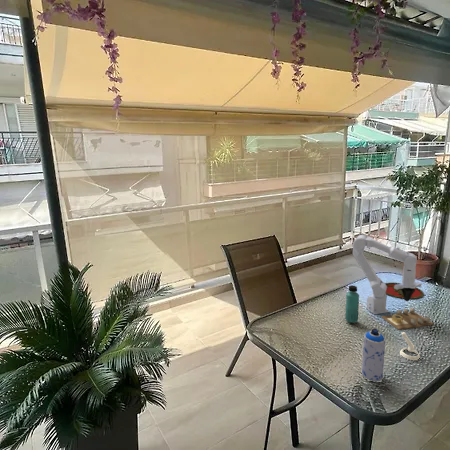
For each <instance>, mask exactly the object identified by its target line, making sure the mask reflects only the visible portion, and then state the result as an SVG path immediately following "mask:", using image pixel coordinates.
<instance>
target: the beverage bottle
mask: <svg viewBox="0 0 450 450" xmlns="http://www.w3.org/2000/svg"><path fill="white" fill-rule="evenodd" d="M345 296H346V298H345V313H344V316H345V321H347V322H349V323H357V322H358V320H359V316H360V315H359V307H360V306H359V305H360V294H359V293H358V286H357V285H349V286H348V292H346V293H345Z"/></svg>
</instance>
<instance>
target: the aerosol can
mask: <svg viewBox="0 0 450 450" xmlns="http://www.w3.org/2000/svg"><path fill="white" fill-rule="evenodd" d="M362 346H363V347H362V363H361V372H362V375H363V376H364V377H365V378H367V379H369V380H372V381H380V380H382V378H383V379H384V364H385V353H386V352H385V351H386V338H385V337H384V335H383V334H382V333H380V332H379V329H377V328H372V329H371V330H370V331H367V332H365V333H364V336H363V345H362ZM362 375H361V376H362Z"/></svg>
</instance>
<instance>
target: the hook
mask: <svg viewBox="0 0 450 450" xmlns="http://www.w3.org/2000/svg"><path fill="white" fill-rule="evenodd" d="M401 336H402V338H403V339H404V340H405V342H406V344H407V345H408V347H403V348H401V350H400V351H399V355H400V356H401V355H402V356H403V357H405V358H407V359H406V360H408V359H410V360H409V361H411V360H417V359H419V358H420V359H421V355H420V354H419V352H418V351H417V350H416V349H415V348H416V347H415V345H414V343H412V341H411V339H410V338H409V336H408V335H407V333H406V332H405V331H403V332H401ZM404 350H405V351H407V350H408V352H411V353H414V354H415V355H409V354H406V353H405V352H404ZM417 354H418V355H417ZM402 356H401V357H402ZM403 357H402V358H403ZM405 358H404V359H405ZM420 359H419V360H420ZM417 361H418V360H417Z"/></svg>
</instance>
